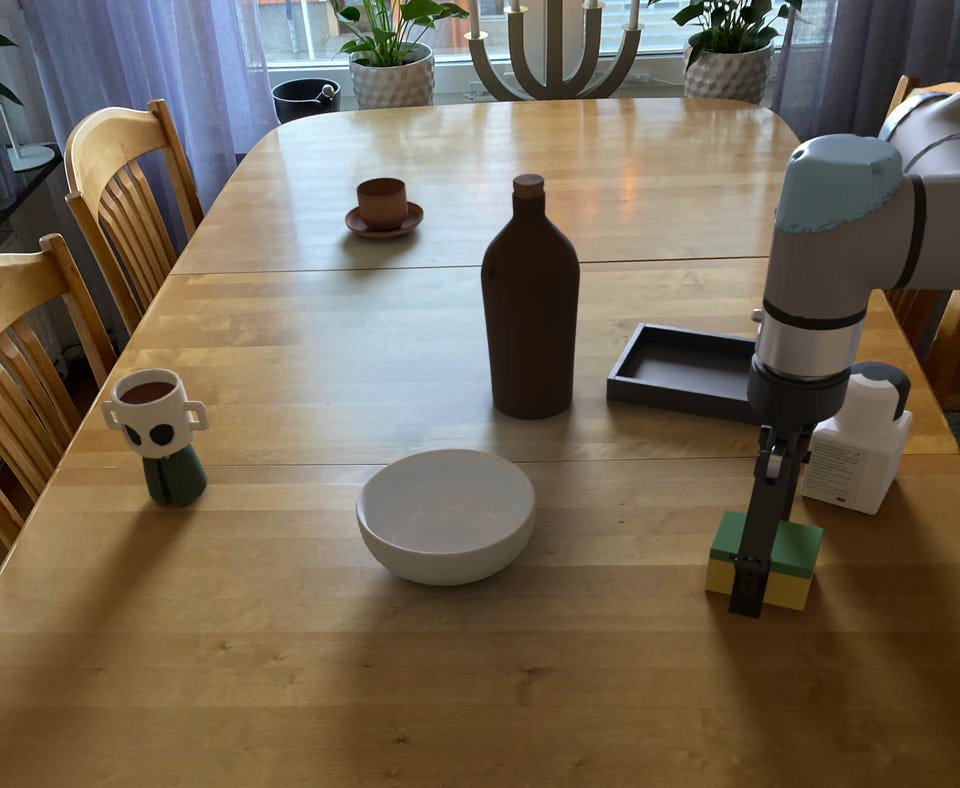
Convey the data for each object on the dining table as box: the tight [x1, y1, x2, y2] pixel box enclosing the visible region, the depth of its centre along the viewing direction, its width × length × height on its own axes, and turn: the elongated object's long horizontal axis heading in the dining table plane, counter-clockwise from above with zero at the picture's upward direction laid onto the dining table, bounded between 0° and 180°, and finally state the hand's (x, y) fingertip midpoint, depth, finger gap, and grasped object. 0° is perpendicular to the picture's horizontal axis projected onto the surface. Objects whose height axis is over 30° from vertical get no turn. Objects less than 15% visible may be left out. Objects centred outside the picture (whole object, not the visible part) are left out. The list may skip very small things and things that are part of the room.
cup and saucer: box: [344, 177, 425, 239], centre depth 151 cm, size 12×12×6 cm
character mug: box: [99, 367, 211, 506], centre depth 104 cm, size 11×7×13 cm, turn 85°
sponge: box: [704, 509, 825, 612], centre depth 92 cm, size 9×6×5 cm, turn 68°
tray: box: [605, 321, 854, 430], centre depth 116 cm, size 26×14×3 cm, turn 68°
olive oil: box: [480, 173, 581, 420], centre depth 109 cm, size 11×11×25 cm
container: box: [799, 360, 914, 516], centre depth 98 cm, size 8×8×13 cm
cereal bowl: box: [355, 448, 537, 587], centre depth 96 cm, size 17×17×7 cm
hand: (759, 565), depth 92 cm, fingers open, 13 cm apart
